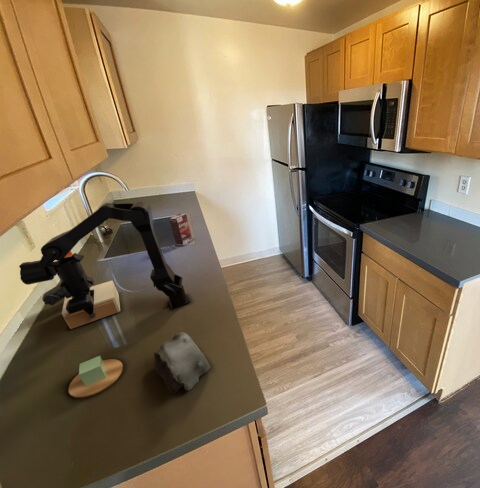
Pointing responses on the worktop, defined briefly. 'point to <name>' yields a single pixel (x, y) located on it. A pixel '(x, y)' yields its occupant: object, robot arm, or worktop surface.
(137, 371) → the worktop surface
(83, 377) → the block
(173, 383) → the rock
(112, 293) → the cabinet
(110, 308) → the drawer
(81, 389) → the trivet
